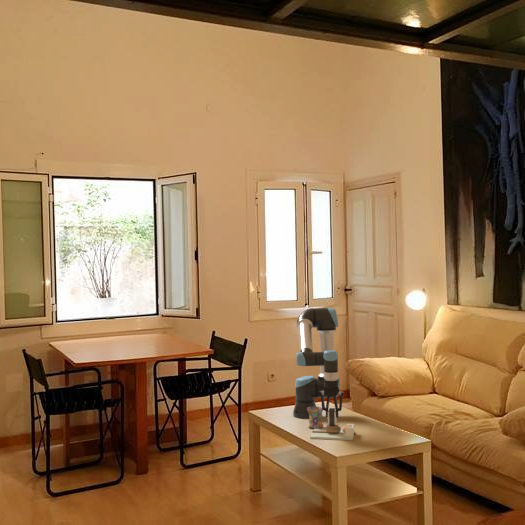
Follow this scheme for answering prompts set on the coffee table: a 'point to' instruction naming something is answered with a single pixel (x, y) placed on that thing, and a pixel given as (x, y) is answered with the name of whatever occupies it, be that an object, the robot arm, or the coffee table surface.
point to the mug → (315, 417)
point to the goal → (349, 429)
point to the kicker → (332, 422)
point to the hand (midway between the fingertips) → (332, 423)
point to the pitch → (330, 435)
